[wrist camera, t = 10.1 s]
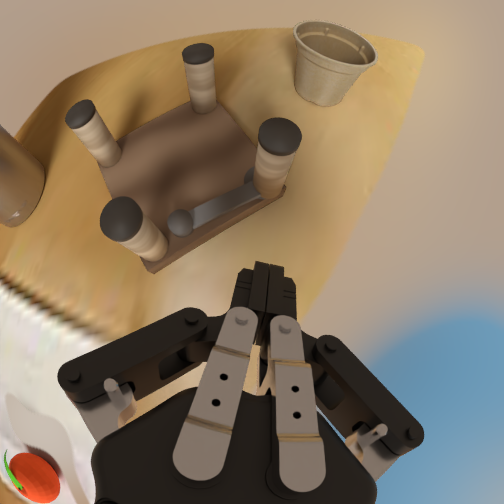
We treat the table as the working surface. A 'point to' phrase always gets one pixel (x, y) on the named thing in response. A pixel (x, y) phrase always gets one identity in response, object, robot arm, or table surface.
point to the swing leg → (264, 180)
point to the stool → (170, 167)
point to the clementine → (33, 477)
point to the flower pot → (329, 60)
